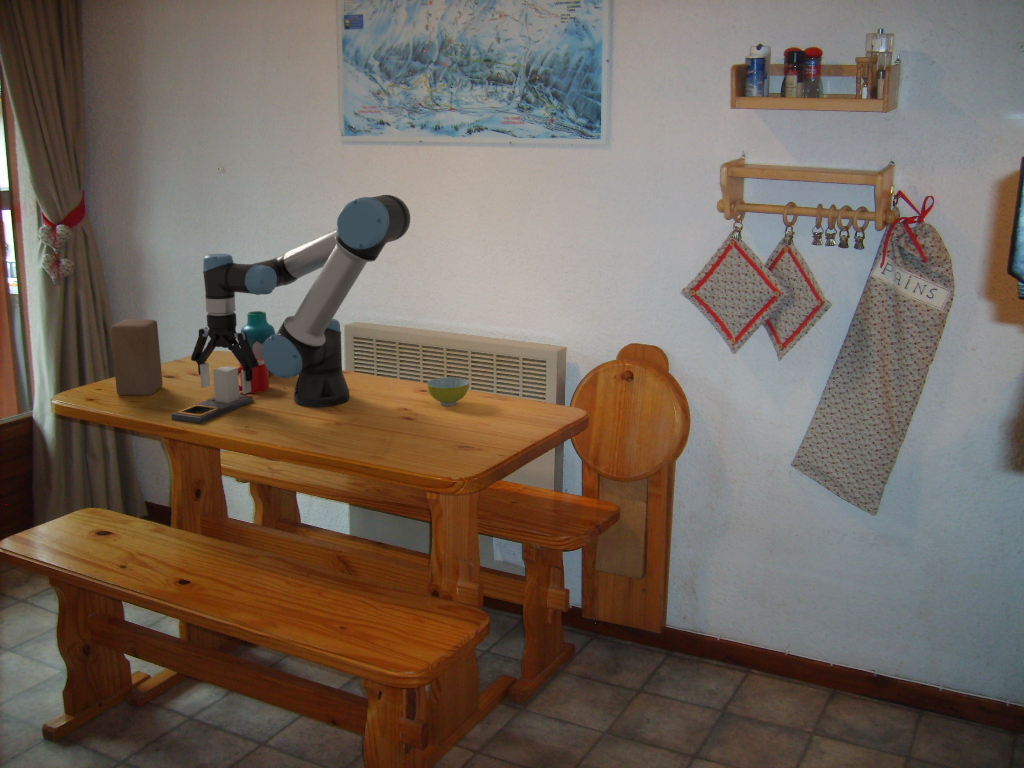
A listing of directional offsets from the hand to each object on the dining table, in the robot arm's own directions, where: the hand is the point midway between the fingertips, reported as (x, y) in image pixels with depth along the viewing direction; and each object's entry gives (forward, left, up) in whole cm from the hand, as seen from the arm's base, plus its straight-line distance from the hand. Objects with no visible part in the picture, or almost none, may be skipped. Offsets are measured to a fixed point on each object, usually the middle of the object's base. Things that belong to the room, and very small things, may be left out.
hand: (226, 389), depth 264 cm
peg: (0, 0, -4) cm, 4 cm away
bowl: (-55, -24, -4) cm, 60 cm away
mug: (+3, -14, -4) cm, 15 cm away
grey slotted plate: (0, +6, -4) cm, 7 cm away
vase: (+11, -30, -4) cm, 32 cm away
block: (+31, -1, -4) cm, 31 cm away
